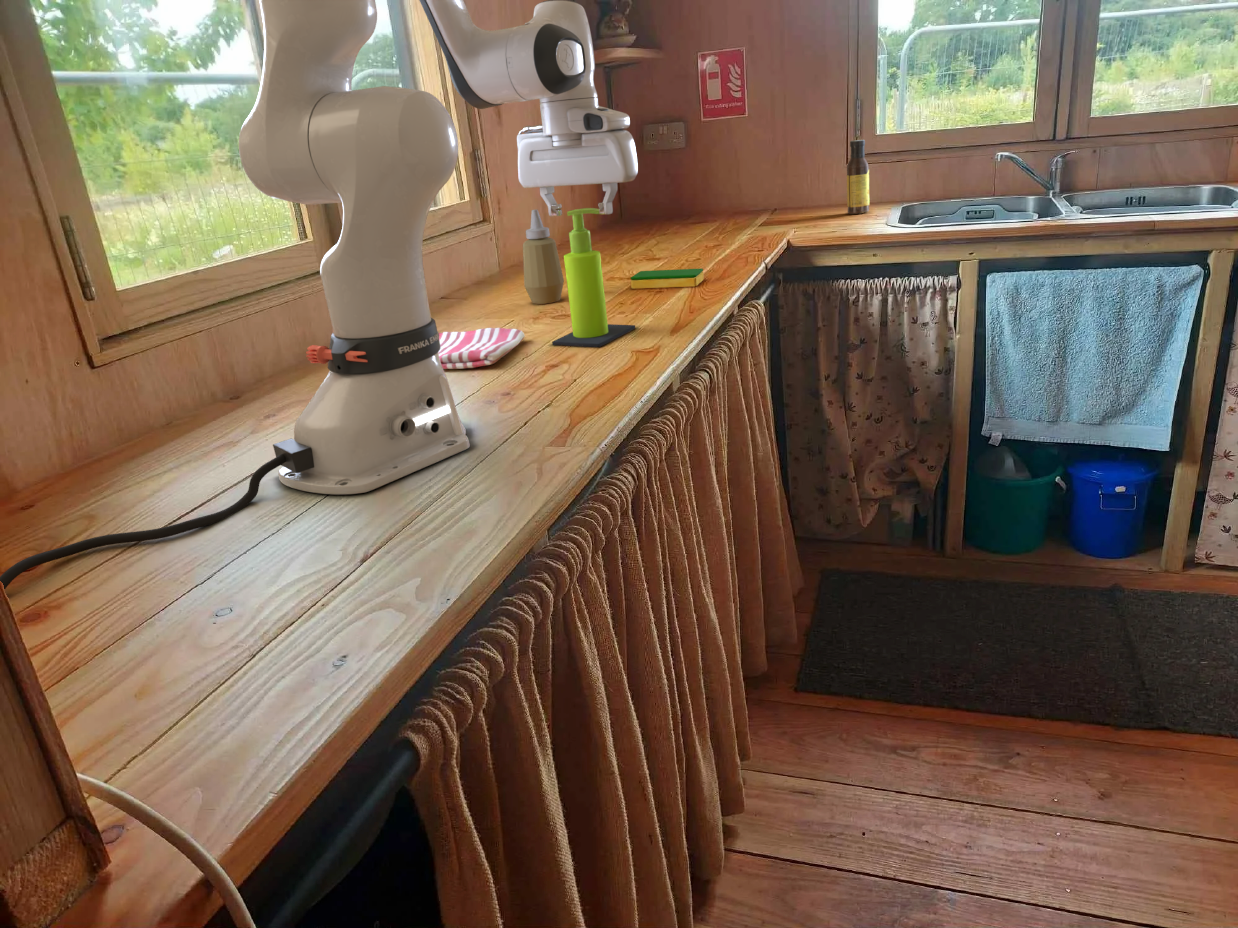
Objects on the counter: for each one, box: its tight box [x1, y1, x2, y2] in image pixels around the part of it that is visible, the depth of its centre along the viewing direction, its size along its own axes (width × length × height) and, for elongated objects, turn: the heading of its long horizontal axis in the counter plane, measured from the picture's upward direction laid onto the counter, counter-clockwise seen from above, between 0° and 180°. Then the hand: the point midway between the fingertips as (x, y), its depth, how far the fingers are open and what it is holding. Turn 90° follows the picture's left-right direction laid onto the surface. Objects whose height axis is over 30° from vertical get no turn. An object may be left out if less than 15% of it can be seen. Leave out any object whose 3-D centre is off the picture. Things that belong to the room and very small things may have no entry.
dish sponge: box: [630, 267, 705, 290], centre depth 180 cm, size 7×14×2 cm, turn 72°
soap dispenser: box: [563, 207, 609, 338], centre depth 141 cm, size 6×7×20 cm
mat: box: [551, 323, 636, 348], centre depth 145 cm, size 12×9×1 cm
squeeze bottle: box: [522, 209, 565, 305], centre depth 173 cm, size 8×8×18 cm
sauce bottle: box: [846, 139, 871, 215], centre depth 249 cm, size 6×6×20 cm
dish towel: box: [438, 327, 525, 370], centre depth 141 cm, size 17×23×4 cm
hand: (580, 215), depth 138 cm, fingers open, 8 cm apart
